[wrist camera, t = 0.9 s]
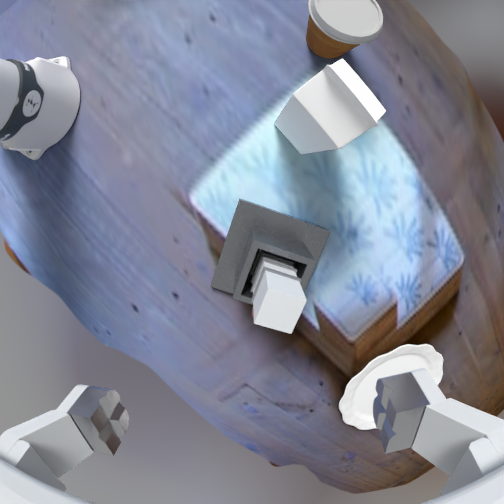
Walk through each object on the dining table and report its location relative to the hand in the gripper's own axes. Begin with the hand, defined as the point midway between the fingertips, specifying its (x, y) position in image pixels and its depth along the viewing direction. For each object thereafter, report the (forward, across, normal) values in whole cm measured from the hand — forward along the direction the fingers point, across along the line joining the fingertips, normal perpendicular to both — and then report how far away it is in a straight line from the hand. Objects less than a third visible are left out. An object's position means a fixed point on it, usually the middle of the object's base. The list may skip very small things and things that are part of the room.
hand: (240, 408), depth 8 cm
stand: (+37, 0, +6) cm, 38 cm away
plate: (+41, -24, +39) cm, 61 cm away
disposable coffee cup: (+37, -13, -27) cm, 47 cm away
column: (+36, 0, +6) cm, 36 cm away
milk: (+37, -7, -13) cm, 40 cm away
